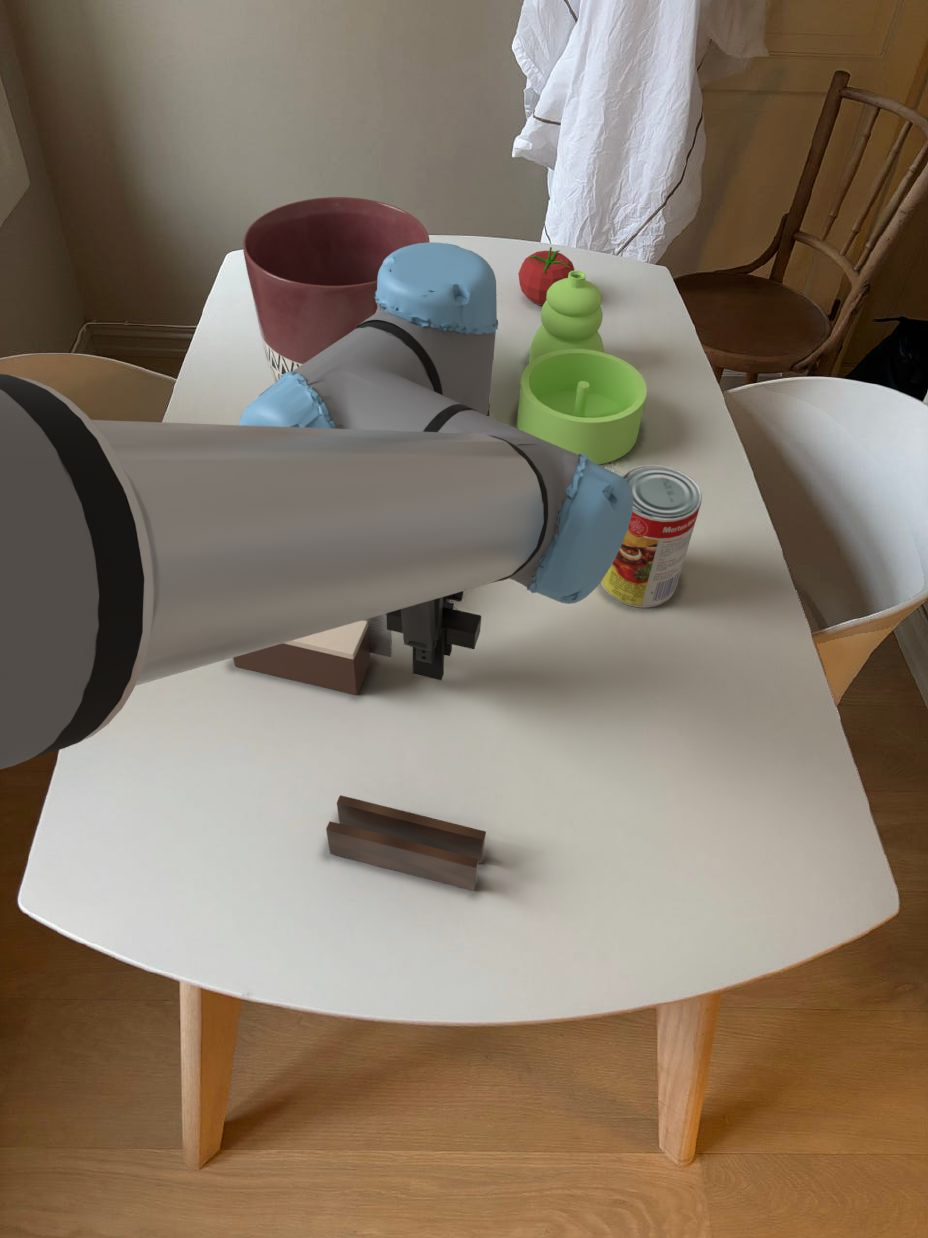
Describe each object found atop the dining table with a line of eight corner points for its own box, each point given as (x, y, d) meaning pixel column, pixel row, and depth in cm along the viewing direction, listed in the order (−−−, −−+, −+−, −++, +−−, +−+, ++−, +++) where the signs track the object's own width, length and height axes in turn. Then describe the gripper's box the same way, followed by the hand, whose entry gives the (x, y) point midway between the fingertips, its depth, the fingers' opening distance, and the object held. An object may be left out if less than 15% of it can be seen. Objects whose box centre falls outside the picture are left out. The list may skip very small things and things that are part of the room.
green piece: (646, 465, 109) (668, 372, 100) (522, 465, 108) (532, 371, 99) (615, 345, 125) (630, 255, 116) (506, 344, 125) (513, 254, 115)
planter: (302, 477, 106) (280, 304, 90) (246, 384, 117) (217, 216, 101) (456, 431, 112) (461, 262, 96) (388, 348, 123) (383, 183, 107)
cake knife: (477, 665, 87) (481, 615, 81) (471, 684, 85) (475, 633, 80) (236, 610, 90) (224, 558, 85) (226, 626, 89) (214, 574, 83)
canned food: (631, 542, 100) (652, 453, 91) (691, 580, 97) (718, 492, 88) (584, 578, 97) (600, 489, 88) (644, 620, 93) (668, 532, 84)
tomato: (582, 296, 133) (589, 245, 128) (556, 321, 129) (562, 268, 123) (533, 279, 136) (538, 228, 130) (506, 303, 132) (510, 251, 126)
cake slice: (356, 695, 86) (353, 654, 81) (234, 666, 88) (224, 624, 83) (370, 662, 88) (368, 621, 84) (252, 635, 90) (243, 592, 86)
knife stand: (483, 855, 76) (486, 831, 73) (474, 891, 74) (476, 868, 71) (342, 819, 77) (339, 794, 74) (329, 854, 75) (325, 829, 72)
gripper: (458, 541, 63) (450, 738, 81) (508, 410, 73) (491, 611, 91) (352, 519, 64) (367, 718, 82) (415, 393, 74) (416, 595, 92)
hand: (432, 661), depth 86 cm, fingers closed on cake knife, 2 cm apart
